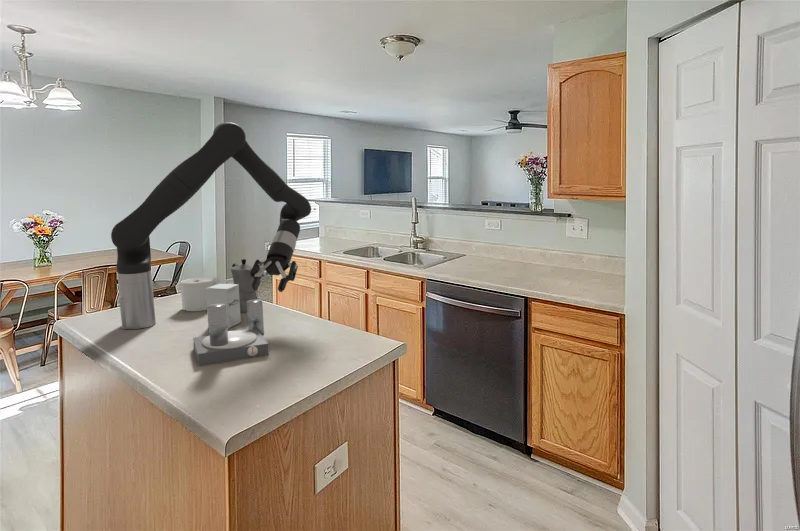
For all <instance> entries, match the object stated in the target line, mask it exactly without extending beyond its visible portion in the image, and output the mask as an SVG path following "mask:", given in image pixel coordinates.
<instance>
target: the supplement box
mask: <svg viewBox="0 0 800 531" xmlns="http://www.w3.org/2000/svg"><path fill="white" fill-rule="evenodd" d="M206 299H207V306H208V305H212V304H225V305H226V315H227V330H229V329H231V328H232V327H234V326H236V325H238V324H240V323H241V319H242V318H241V313H240V299H239V284H234V283H220V284H217V285H214V286H211V287H208V288H206ZM206 312H207V314H206V315H208V309H207V310H206ZM207 325H208V326H207V327H208V328H209V322H208V321H207Z"/></svg>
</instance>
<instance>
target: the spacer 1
mask: <svg viewBox="0 0 800 531" xmlns="http://www.w3.org/2000/svg"><path fill="white" fill-rule="evenodd" d="M207 309H208V314H207V323H208V322H209V327H208V331H209V332H208V333H209V335H208V336H210V345H211V346H223V345H226V344H228V331H229V329H227V315H226V305H225V304H212V305H208V306H207Z"/></svg>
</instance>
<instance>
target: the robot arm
mask: <svg viewBox="0 0 800 531" xmlns="http://www.w3.org/2000/svg"><path fill="white" fill-rule="evenodd" d="M230 158H232V159H233V160H234V161H236V162H237V163H238V164H239V165H240V166H241V167H242V168H243V169H244V170H245V171H246V172H247V173H248V174H249V175H250V177H251V178H252V179H253V181H255V182H256V184H257V185H258V186H259V187H260V188H261V189H262V190H263V191H264V192H265V194H266V195H267V196H268V197H270V199H271V200H272V201H274V202H275V203H281V202H283V203H285V204H284V205H283V206H282V208H281V210H280V214H279V225H278V228H277V230H276V233H275V235H274V236H273V238H272V240H271V243H270V246H269V249H268V251H267V254H266V259H265V260H264V261H261V260H259V259H256V260H255V261H254V263H253V265H254V266H253V268H252V270H251V272H250V275H251V276H252V278H253V279H254V280H253V283H252V288H253V289H254V290H255V291H258V289H259V287H260V284H261V282H262V280H263V279H264V278H267V277H268V276H281V278H280V281H279V284H278V287H277V291H279V293H283V291H284V290H286V287H287V284H288V282H294V281H295V279H296V276H297V271H298V267H299V266H298V264H297V262H296V261H295V260H293V261H291V260H292V257H293V254H294V251H295V249H296V245H297V241H298V238H299V235H300V233H301V232H300V231H301V225H300V223H299V222H298V221H300V220H302V219H304V218H307V217H308V216H309V215H310V214H311V212H312V206H311V203H310V201H309V200H308V199H307V198H306V197H305V196H304V195H303V194H301V193H299V191H297V190H295V189H293V188H292V187H291V186H289V185H288V184H287V183H286V182H285V181H284V180H283V178H281V176H280V175H279V174H278V173H277V172H276V171H275V170H274V169H273V168H272V167H270V166H269V164H267V162H265V161H264V160H263V159H262V158H261V157H260V156H259V155H258V154H257V153H256V152H255V151H254V150H253V148H252V147H251V145H250V144H249V143H248V141H247V140H246V133H245V131H244V128H242V126H241V125H239V124H236V123H234V122H232V121H231V122H228V121H227V122H222V123H219V124H217V125H216V126H215V127H214V130H213V132H212V135H211V136H210V137H209V139H208V140H207V141H206V142H205V143H204V144H203V146H202V147H201V148H200V149H199V150H198V151H196V152H195V153H193V154H192V155H191V156H190V157H187V159H185V160H183V161H182V162H180V164H177V166H176V167H175V168H173V169H172V170H171V171H170V172H169V173H168V174H167V175H166V176H165V177H164V178H163V179H162V180H161V181H160V182H159V184H157V185H156V186H155V188H154V189H153V190H152V191H151V192H150V193H149V195H148V196H147V197H146V199H145V200H144V201H143V202H142V203H141V204H140V205H139V206H138V207H137V208H136V209H134V211H132V212H131V213H130V214H128V215H127V216H126V217H124V218H123V219H122V220H120V221H119V222H117V223H116V224H115V225H114V226H113V228H112V230H111V233H110V238H111V242H112V244H113V246H114V247H115V248H116V252H117V254H116V255H117V257H116V258H117V260H116V273H117V274H116V275H117V283H118V293H119V300H118V301H119V308H120V317H121V318H120V319H121V328H122V330H139V329H145V328H150V327H152V326H155V325H156V324H157V321H156V319H157V318H156V311H155V310H156V308H155V299H154V290H153V288H154V287H153V279H152V276H153V275H152V266H151V262H152V253H151V241H150V235H151V234H152V233H153V231H154V230H156V228H157V227H158V226H159V225H160V224H161V223H162V222H164V220H166V219H167V218H168V217H169V216H171V215H173V214H174V213H175V212H176V211H178V210H179V209H180V208H181V207H183V206H184V205H185V204H186V203H188V201H189V200H191V199H192V197H193V196H195V195H196V194H197V192H199V190H200V189H201V188H202V187H204V185H205V184H206V183H207V182H208V180H209V179H210V178H211V176H212V175H213V174H214V173H215V172H216V171H217V170H218V169H219V168H220V167H221V166H222V165H223V164H224V163H226V162H227V161H228V160H230ZM287 269H289V271H288V274H287V273H286V271H287ZM265 271H266V272H265Z"/></svg>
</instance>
